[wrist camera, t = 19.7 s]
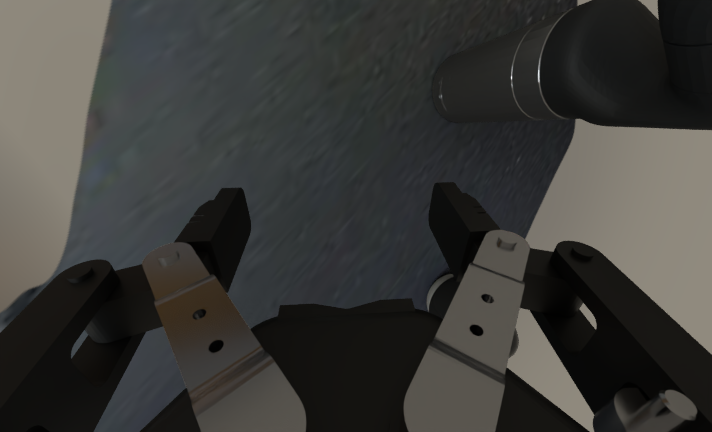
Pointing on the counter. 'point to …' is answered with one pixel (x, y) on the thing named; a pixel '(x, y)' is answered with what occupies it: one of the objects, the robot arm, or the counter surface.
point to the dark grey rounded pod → (443, 297)
